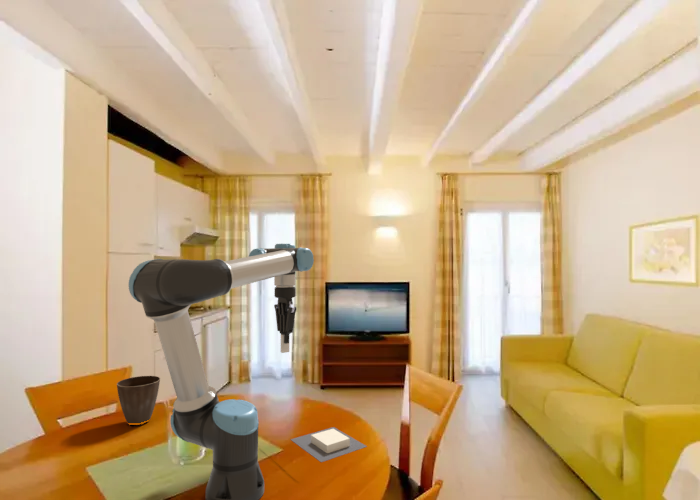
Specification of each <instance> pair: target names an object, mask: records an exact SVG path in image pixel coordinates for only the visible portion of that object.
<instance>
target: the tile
mask: <svg viewBox="0 0 700 500" xmlns="http://www.w3.org/2000/svg"><path fill="white" fill-rule="evenodd" d="M311 443H313V444H314V445H316V446H317V447H318V448H320V449H321V450H323V451H324V452H326V453H330V452H333V451H336V450H339V449H342V448H345V447H348V446H350V438H348V437H347V436H345V435H343V434H342V433H340V432H338V431H336V430H335V429H330V430H326V431H323V432H319V433H316V434H313V435H311Z"/></svg>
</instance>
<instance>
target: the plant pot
mask: <svg viewBox="0 0 700 500" xmlns="http://www.w3.org/2000/svg"><path fill="white" fill-rule="evenodd" d="M160 381H161V377H160V376H156V375H141V376H140V375H139V376H133V377H129V378H124V379H122V380H119V381H118V382H117V383H116V388H117V395H118V399H119V403H120V407H121V410H122V413H123V416H124V418H125V421H126V423H127V422H128V423H141V422H144V421H147V420H149V419H150V420H151V417H152V415H153V414H154V413H153V412H154V409H155V406H156V402H157V398H158V393H159V390H160V389H159V388H160ZM128 423H127V424H128Z"/></svg>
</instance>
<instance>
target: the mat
mask: <svg viewBox="0 0 700 500" xmlns="http://www.w3.org/2000/svg"><path fill="white" fill-rule="evenodd" d="M330 429H335V430H336V431H338V432H340V433H342V434H343V435H345V436H347V437H348V438H350V446H348V447H345V448H342V449H339V450H336V451H333V452H330V453H326V452H324V451H323V450H321V449H320V448H318V447H317V446H316V445H314V444H313V443H311V435H313V434H316V433H319V432H323V431H326V430H330ZM290 441H292V442H293V443H294V444H296V445H297V446H299V447H300V448H301V449H302V450H303V451H305V452H306V453H308V454H309V455H311V456H312V457H313V458H315V459H316V460H317V461H319V462H320V463H323V462H326V461H329V460H332V459H335V458H338V457H341V456H343V455H344V456H345V455H347V454H350V453H354V452H356V451H359V450H361V449H365V448H367V447H368V446H367V445H366V444H364V443H362V442H360V441H359V440H357V439H355V438H354V437H352V436H351V435H348V434H347V433H345V432H343V431H341V430H339V429H338V428H337V427H335V426H333V427H332V426H331V427H329V428H325V429H322V430H318V431H316V432H311V433H308V434H304V435H300V436H298V437H293V438H290Z"/></svg>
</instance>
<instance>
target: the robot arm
mask: <svg viewBox="0 0 700 500" xmlns="http://www.w3.org/2000/svg"><path fill="white" fill-rule="evenodd" d="M314 261H315V259H314V253H313V252H312V250H311V249H310V248H307V247H296V245H295V244H294V243H275V245H274V248H264V247H263V248H262V247H259V248H253V249H252V250H251V251H250V252H249V254H248V256H245V257H241V258H235V259H231V260H226V261H224V260H223V259H221V258H215V259H209V260H208V259H206V260H202V259H201V260H200V259H186V258H184V259H183V258H180V259H179V258H178V259H165V258H156V259H149V260H148V259H147V260H145V261H143V262H141V263H139V264H138V265H137V266H136V267H135V268H134V269H133V271H132V273H131V274H130V276H129V280H128V291H129V293H130V295H131V297H132V298H133V299H134V300H136V302H138V303H141V304H142V308H143V310H144V311H143V312H144V314H145V317H146V318H148V319H151V320H153V323H154V324H155V328H156V331H157V334H158V338H159V342H160V345H161V348H162V351H163V355H164V358H165V362H166V365H167V368H168V372H169V375H170V379H171V382H172V384H173V385H172V386H173V389H174V392H175V395H176V398H175V400H174V402H173V406H172V407H173V409H172V415H170V421H169V422H170V427H171V430H172V432H173V433H174V435H175V436H176V437H178V438H179V439H181V440H182V441H184V442H186V443H191V444H193V445H198V446H199V447H202V448H206V449H209V450H212V468H211V472H210V475H209V478H208V481H207V484H206V487H205V500H260V499H261V498H262V497H263V495H264V493H265V479H264V476H263V472H262V470H261V468H260V463H259V459H258V458H259V456H258V455H259V454H258V453H259V425H260V424H259V422H260V421H259V417H258V413H259V412H258V409H257V407H256V406H255V405H254V404H253V403H252V402H249V401H247V400H245V399H244V400H243V399H235V398H232V399H225V400H222V401H219V397H218V393H217V390H216V388H214V387H213V386H211V385H209V381H208V378H207V376H206V375H207V374H206V372H205V368H204V364H203V361H202V357H201V354H200V353H201V352H200V349H199V346H198V343H197V338H196V335H195V332H194V327H193V324H192V322H191V317H190V314H189V308H190V307H191V306H192V305H194V304H198V303H201V302H204V301H208V300H212V299H215V298H218V297H221V296H222V297H223V296H225V295H227V294H228V293H229V292H230V291H231V290H232V289H235V288H240V287H243V286H245V285H249V284H253V283H259V282H262V281H265V280H269V279H271V278H274V280H273V281H274V282H273V283H274V286H275V287H274V298H277V304H274V307H273V308H274V310H275V318H276V319H275V320H276V329H277V331H278V332H279V334H280V353H281V354H284V353H285V354H286V353H290V334H292V333H294V324H295V316H296V312H297V306H294V303H293V298H295V297H296V296H297V295H296V291H297V289H296V279H297V277H296V272H302V273H303V272H308V271H310V270H311V269H312V267H313V265H314Z"/></svg>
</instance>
